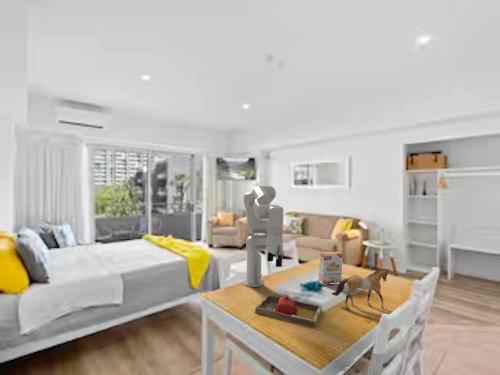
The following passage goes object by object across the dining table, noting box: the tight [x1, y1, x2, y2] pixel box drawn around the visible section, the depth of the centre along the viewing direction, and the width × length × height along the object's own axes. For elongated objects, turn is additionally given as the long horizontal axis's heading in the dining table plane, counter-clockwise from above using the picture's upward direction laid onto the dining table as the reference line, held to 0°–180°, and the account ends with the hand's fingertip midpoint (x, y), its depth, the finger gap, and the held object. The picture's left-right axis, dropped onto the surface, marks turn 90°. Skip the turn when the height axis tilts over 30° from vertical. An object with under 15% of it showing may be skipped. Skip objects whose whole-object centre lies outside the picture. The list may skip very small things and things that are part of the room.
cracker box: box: [318, 251, 344, 284], centre depth 181 cm, size 14×6×21 cm, turn 105°
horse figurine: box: [331, 268, 389, 309], centre depth 149 cm, size 31×8×21 cm, turn 91°
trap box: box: [255, 294, 322, 328], centre depth 140 cm, size 18×30×3 cm, turn 65°
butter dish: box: [274, 295, 298, 316], centre depth 141 cm, size 12×12×8 cm
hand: (274, 263), depth 139 cm, fingers open, 9 cm apart
